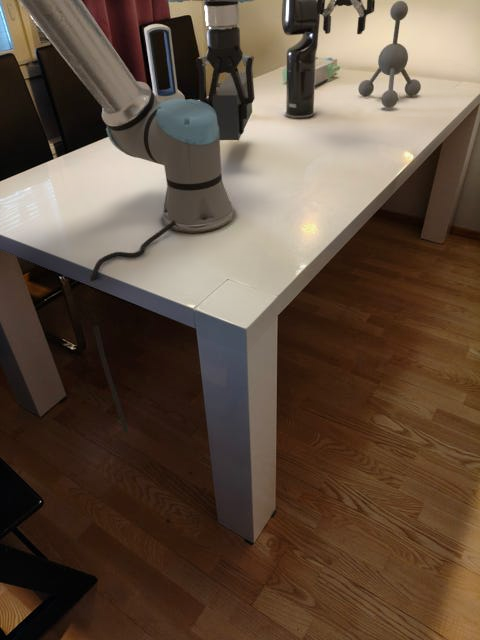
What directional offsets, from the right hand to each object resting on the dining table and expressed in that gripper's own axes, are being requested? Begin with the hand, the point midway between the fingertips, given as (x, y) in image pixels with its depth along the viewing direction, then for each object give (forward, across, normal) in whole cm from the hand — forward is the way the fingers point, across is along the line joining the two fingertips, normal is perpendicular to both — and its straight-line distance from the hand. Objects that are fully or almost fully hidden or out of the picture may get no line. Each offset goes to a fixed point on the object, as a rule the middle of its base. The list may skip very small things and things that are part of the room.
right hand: (343, 33), depth 125 cm
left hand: (+18, +18, +30) cm, 39 cm away
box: (+19, +22, +21) cm, 36 cm away
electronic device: (+28, +51, +10) cm, 59 cm away
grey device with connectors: (+28, +37, -74) cm, 87 cm away
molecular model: (+28, -4, -50) cm, 58 cm away
